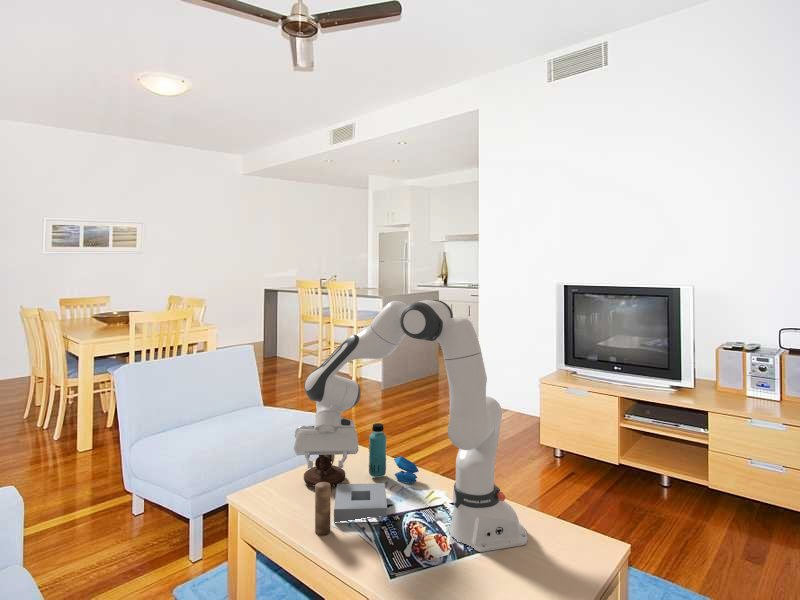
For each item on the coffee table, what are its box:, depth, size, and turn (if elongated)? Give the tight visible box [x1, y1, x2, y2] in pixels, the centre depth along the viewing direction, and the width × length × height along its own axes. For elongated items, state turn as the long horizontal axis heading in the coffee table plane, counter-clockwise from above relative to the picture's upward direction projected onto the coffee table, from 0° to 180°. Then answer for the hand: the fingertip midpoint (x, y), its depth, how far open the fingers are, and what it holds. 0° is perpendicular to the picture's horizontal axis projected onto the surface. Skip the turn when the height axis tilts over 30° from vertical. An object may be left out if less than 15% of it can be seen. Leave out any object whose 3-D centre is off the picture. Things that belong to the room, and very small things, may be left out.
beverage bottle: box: [368, 422, 387, 478], centre depth 173 cm, size 6×7×20 cm
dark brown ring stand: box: [303, 455, 346, 489], centre depth 169 cm, size 15×15×20 cm
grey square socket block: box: [333, 482, 388, 524], centre depth 151 cm, size 16×16×4 cm
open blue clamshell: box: [393, 456, 420, 484], centre depth 171 cm, size 7×8×11 cm
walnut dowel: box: [314, 482, 332, 537], centre depth 138 cm, size 4×4×14 cm
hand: (325, 467), depth 146 cm, fingers open, 8 cm apart
